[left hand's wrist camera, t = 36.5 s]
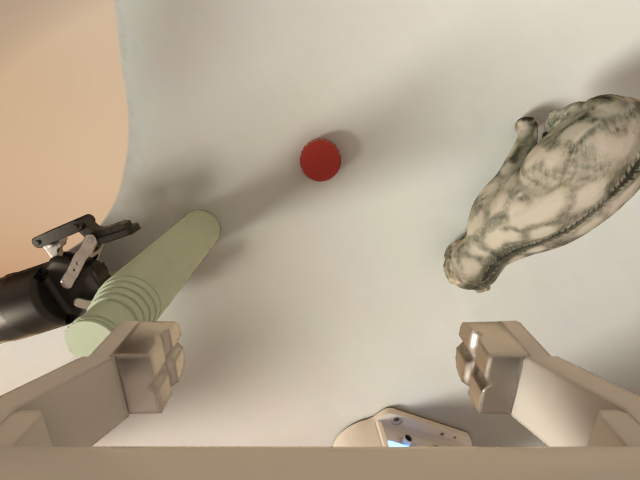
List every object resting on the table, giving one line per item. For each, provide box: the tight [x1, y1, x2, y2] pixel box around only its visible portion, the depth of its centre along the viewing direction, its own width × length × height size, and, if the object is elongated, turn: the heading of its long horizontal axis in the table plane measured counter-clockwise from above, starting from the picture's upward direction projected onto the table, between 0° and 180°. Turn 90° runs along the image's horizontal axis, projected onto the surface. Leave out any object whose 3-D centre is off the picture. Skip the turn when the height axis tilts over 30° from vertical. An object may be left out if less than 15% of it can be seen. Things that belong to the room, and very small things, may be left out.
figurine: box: [443, 94, 640, 293], centre depth 37 cm, size 10×19×20 cm
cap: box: [300, 138, 341, 181], centre depth 41 cm, size 5×5×2 cm
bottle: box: [65, 210, 221, 358], centre depth 34 cm, size 5×5×23 cm
